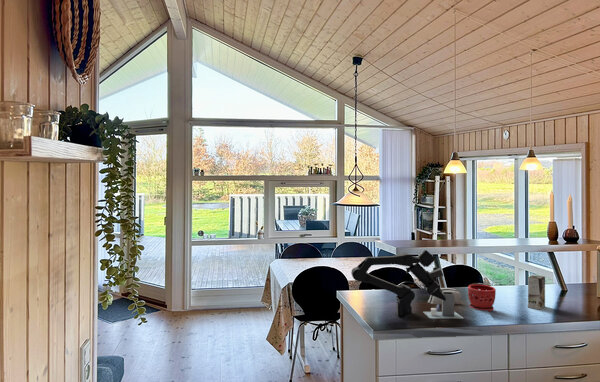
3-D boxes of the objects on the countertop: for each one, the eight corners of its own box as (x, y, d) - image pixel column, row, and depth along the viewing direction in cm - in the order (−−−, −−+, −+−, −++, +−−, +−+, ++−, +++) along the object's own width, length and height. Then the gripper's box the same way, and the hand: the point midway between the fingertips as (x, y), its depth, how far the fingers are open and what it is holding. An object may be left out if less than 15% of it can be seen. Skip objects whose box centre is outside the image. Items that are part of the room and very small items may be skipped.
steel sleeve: (442, 316, 201) (442, 294, 201) (441, 313, 206) (441, 291, 206) (454, 316, 199) (454, 294, 199) (453, 313, 204) (453, 292, 204)
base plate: (429, 321, 197) (429, 311, 197) (422, 314, 208) (422, 305, 208) (463, 321, 197) (463, 311, 197) (455, 314, 208) (455, 305, 208)
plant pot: (462, 308, 220) (462, 285, 220) (481, 305, 225) (481, 283, 225) (482, 315, 208) (482, 290, 208) (501, 312, 213) (501, 288, 213)
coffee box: (541, 310, 217) (541, 278, 218) (527, 307, 222) (527, 277, 222) (545, 306, 224) (545, 276, 224) (532, 304, 228) (532, 274, 229)
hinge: (455, 301, 234) (458, 286, 230) (459, 306, 229) (462, 290, 226) (427, 302, 231) (429, 286, 228) (430, 307, 227) (433, 291, 224)
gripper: (434, 265, 195) (459, 290, 193) (431, 259, 214) (454, 282, 211) (416, 281, 197) (441, 306, 194) (415, 274, 215) (438, 297, 213)
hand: (444, 297), depth 203 cm, fingers open, 9 cm apart
